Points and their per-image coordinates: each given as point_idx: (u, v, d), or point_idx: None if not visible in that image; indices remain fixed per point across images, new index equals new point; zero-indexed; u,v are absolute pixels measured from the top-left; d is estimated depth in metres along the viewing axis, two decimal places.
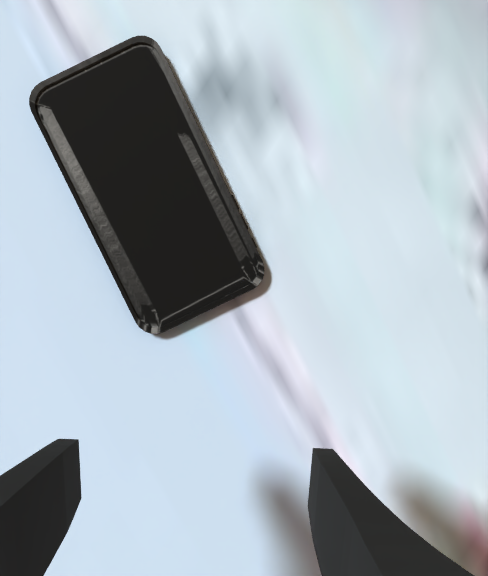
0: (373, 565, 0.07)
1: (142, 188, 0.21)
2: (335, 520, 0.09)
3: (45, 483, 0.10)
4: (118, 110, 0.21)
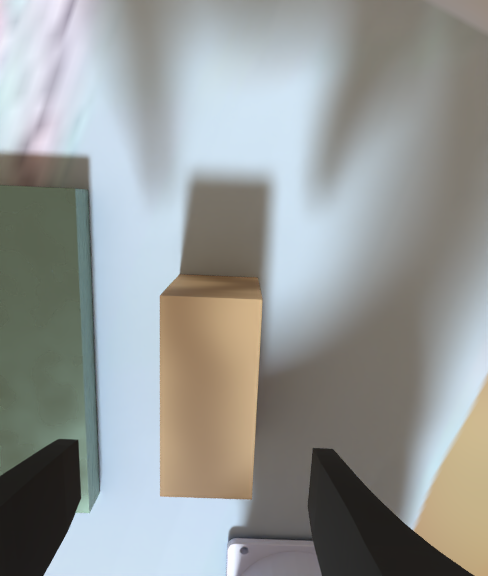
0: (373, 565, 0.07)
1: None
2: (335, 520, 0.09)
3: (45, 483, 0.10)
4: None
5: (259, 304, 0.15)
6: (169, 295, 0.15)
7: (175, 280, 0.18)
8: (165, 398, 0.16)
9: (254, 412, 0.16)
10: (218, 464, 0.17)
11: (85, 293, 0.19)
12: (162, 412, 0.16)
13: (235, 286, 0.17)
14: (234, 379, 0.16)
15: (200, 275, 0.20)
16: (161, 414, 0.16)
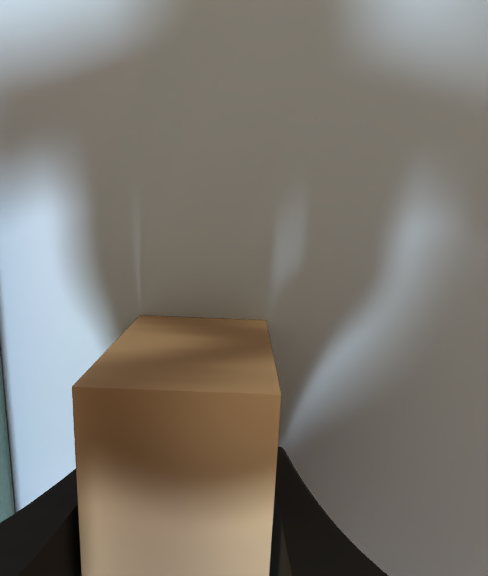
0: (288, 562, 0.07)
1: None
2: None
3: None
4: None
5: (274, 404, 0.07)
6: (91, 386, 0.07)
7: (125, 333, 0.10)
8: (92, 575, 0.08)
9: None
10: None
11: None
12: None
13: (228, 349, 0.10)
14: (224, 542, 0.08)
15: (172, 318, 0.12)
16: None
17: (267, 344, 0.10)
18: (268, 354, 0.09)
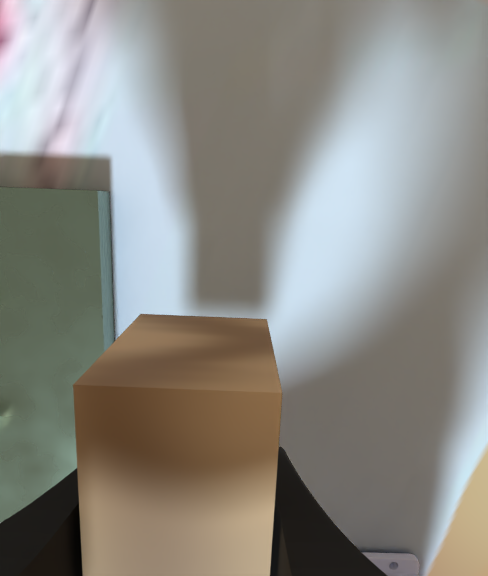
0: (287, 562, 0.07)
1: None
2: None
3: None
4: None
5: (276, 402, 0.07)
6: (93, 384, 0.07)
7: (125, 332, 0.10)
8: (93, 573, 0.08)
9: None
10: None
11: (107, 299, 0.18)
12: None
13: (229, 347, 0.10)
14: (224, 541, 0.08)
15: (173, 317, 0.12)
16: None
17: (268, 343, 0.10)
18: (269, 353, 0.09)
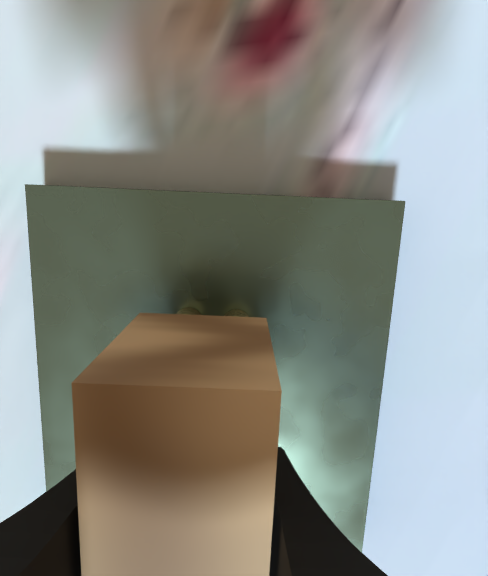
0: (287, 562, 0.07)
1: None
2: None
3: None
4: None
5: (275, 400, 0.07)
6: (91, 381, 0.07)
7: (124, 331, 0.10)
8: (91, 572, 0.08)
9: None
10: None
11: None
12: None
13: (228, 346, 0.10)
14: (224, 539, 0.08)
15: (172, 316, 0.12)
16: None
17: (267, 341, 0.10)
18: (268, 351, 0.09)
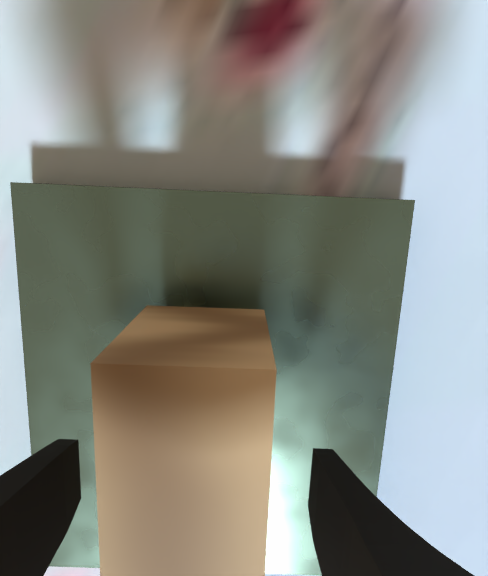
0: (373, 565, 0.07)
1: None
2: (335, 520, 0.09)
3: (45, 483, 0.10)
4: None
5: (271, 378, 0.08)
6: (108, 362, 0.08)
7: (134, 321, 0.11)
8: (107, 535, 0.09)
9: (262, 557, 0.09)
10: None
11: None
12: (103, 558, 0.09)
13: (229, 333, 0.11)
14: (226, 504, 0.09)
15: (177, 308, 0.13)
16: (102, 561, 0.09)
17: (265, 329, 0.11)
18: (265, 337, 0.10)
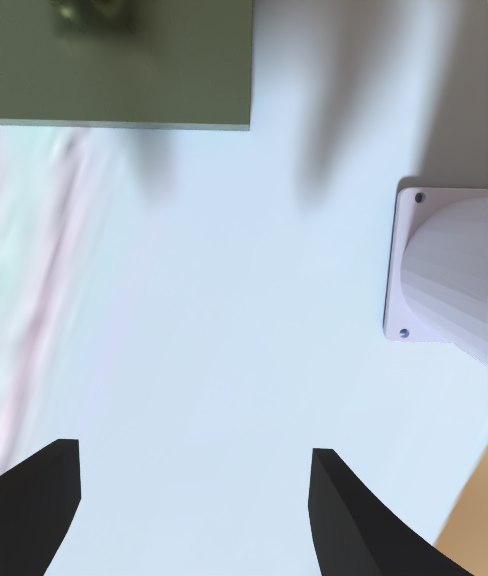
0: (373, 565, 0.07)
1: None
2: (335, 520, 0.09)
3: (45, 483, 0.10)
4: None
5: None
6: None
7: None
8: None
9: None
10: None
11: None
12: None
13: None
14: None
15: None
16: None
17: None
18: None
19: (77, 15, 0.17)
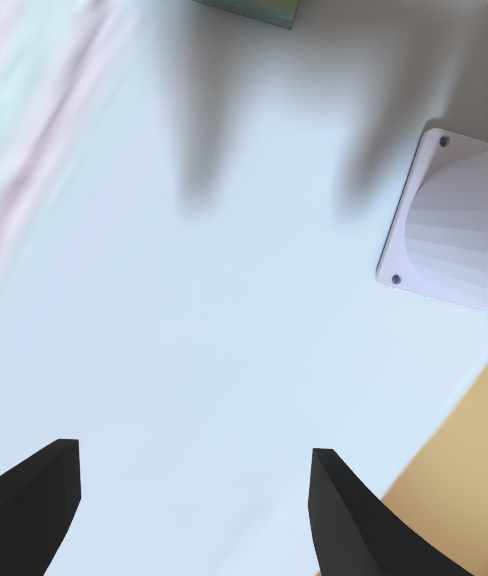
0: (373, 565, 0.07)
1: None
2: (335, 520, 0.09)
3: (45, 483, 0.10)
4: None
5: None
6: None
7: None
8: None
9: None
10: None
11: None
12: None
13: None
14: None
15: None
16: None
17: None
18: None
19: None
